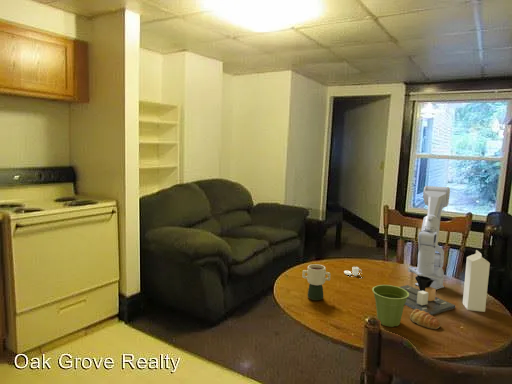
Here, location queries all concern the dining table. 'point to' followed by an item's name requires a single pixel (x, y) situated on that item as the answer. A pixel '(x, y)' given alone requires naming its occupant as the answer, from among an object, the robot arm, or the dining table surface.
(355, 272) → the teacup and saucer
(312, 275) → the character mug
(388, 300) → the plant pot
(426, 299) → the fader
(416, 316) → the pastry
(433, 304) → the console
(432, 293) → the block
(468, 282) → the milk
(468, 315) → the dining table surface
